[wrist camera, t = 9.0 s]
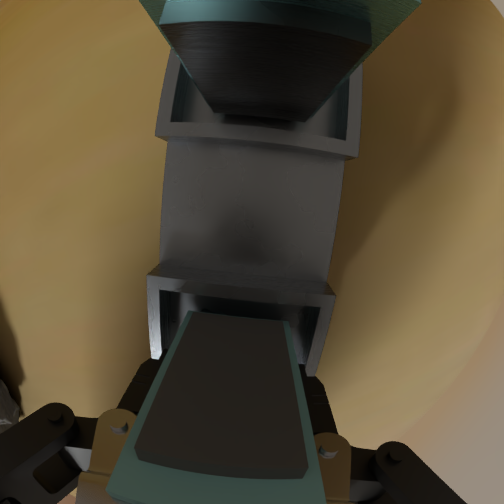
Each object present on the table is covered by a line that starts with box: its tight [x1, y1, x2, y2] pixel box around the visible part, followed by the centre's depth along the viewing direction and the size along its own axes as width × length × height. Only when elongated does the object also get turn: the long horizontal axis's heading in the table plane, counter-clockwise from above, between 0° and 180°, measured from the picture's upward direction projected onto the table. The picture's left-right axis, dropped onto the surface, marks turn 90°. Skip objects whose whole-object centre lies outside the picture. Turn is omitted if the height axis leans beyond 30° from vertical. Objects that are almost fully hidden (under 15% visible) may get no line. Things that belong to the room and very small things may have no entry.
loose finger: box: [105, 310, 327, 504], centre depth 7 cm, size 4×4×8 cm
